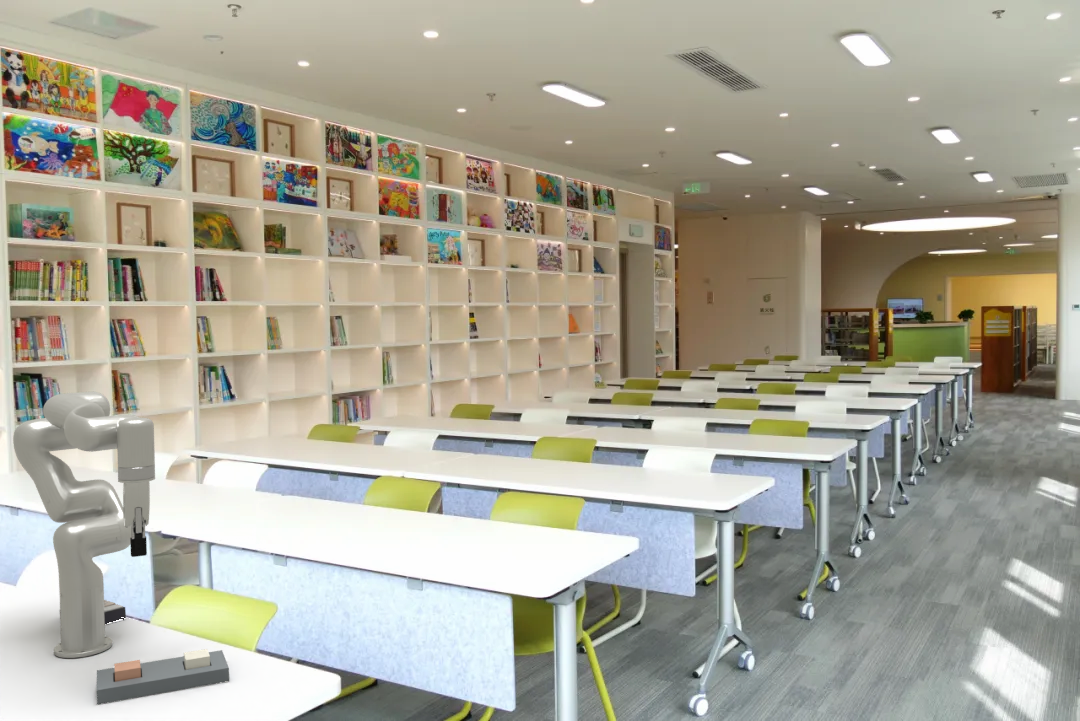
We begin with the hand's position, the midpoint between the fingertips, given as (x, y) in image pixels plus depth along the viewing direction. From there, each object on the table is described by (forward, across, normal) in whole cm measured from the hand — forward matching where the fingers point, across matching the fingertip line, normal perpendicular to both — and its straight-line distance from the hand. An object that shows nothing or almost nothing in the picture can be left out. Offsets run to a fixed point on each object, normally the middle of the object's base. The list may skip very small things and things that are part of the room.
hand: (138, 555), depth 198 cm
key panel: (+27, +7, +4) cm, 28 cm away
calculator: (+28, -48, -10) cm, 56 cm away
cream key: (+26, +7, +11) cm, 29 cm away
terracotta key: (+26, +7, -3) cm, 27 cm away
